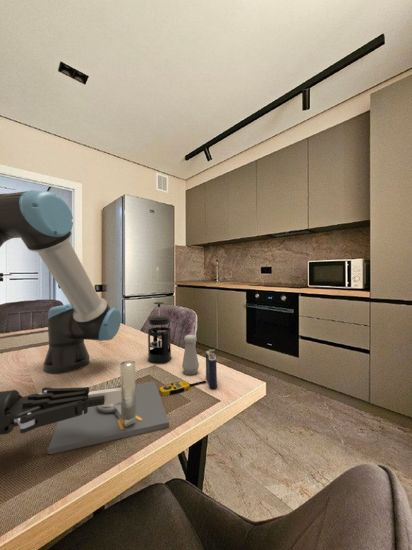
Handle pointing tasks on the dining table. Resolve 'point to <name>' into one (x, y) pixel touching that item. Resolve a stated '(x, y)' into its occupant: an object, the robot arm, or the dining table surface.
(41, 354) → the dining table surface
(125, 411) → the silver faucet
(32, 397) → the robot arm
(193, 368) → the salt shaker
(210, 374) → the flask
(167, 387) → the yellow walkie-talkie
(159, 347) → the french press
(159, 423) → the plate
